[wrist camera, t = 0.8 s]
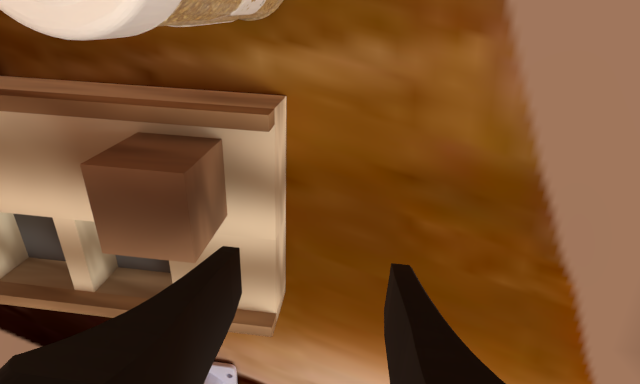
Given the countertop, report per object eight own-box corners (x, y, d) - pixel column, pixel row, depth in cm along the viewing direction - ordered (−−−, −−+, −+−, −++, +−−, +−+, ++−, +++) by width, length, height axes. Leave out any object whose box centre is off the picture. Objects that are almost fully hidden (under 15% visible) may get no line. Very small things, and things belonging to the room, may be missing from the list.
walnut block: (227, 215, 21) (195, 263, 17) (151, 207, 22) (102, 253, 18) (222, 138, 19) (184, 173, 15) (138, 132, 20) (79, 164, 16)
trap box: (285, 291, 27) (272, 337, 24) (-46, 254, 29) (-106, 290, 26) (286, 95, 21) (268, 115, 17) (-133, 66, 23) (-230, 78, 19)
